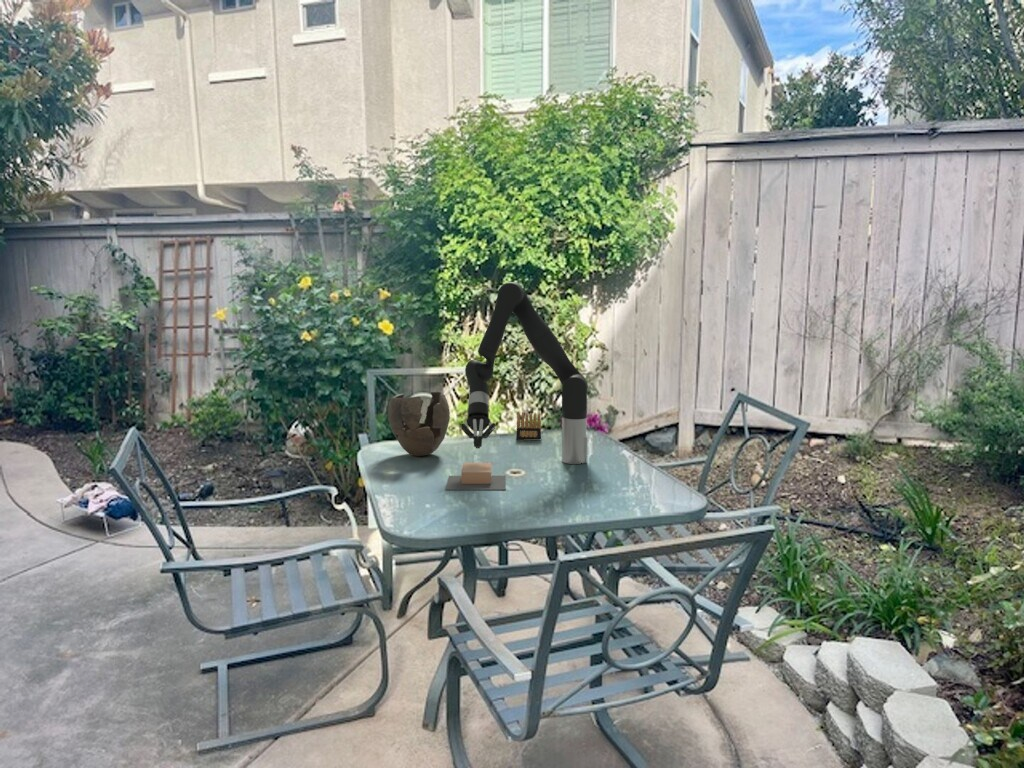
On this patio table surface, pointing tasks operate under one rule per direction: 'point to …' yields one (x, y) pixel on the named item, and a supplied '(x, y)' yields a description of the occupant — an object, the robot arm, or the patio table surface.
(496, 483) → the charcoal mat
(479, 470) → the peach block
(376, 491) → the patio table surface
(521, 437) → the ammunition clip
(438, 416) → the clay pot
